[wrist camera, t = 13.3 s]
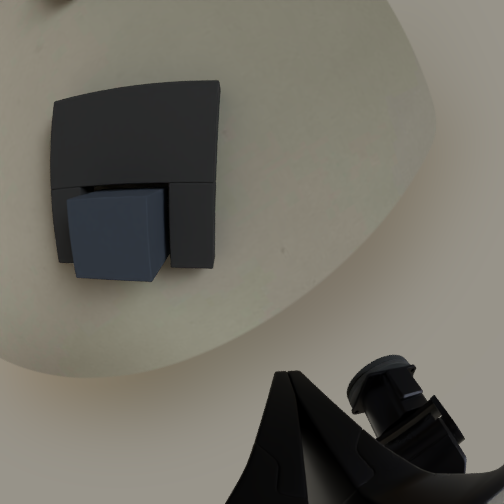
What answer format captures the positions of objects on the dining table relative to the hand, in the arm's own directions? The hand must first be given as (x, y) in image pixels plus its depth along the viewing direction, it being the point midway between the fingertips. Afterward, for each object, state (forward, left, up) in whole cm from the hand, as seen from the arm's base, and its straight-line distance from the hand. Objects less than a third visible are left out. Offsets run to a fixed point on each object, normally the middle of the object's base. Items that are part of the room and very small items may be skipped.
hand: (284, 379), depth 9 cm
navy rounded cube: (+3, +9, -12) cm, 15 cm away
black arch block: (+6, +9, -12) cm, 16 cm away
